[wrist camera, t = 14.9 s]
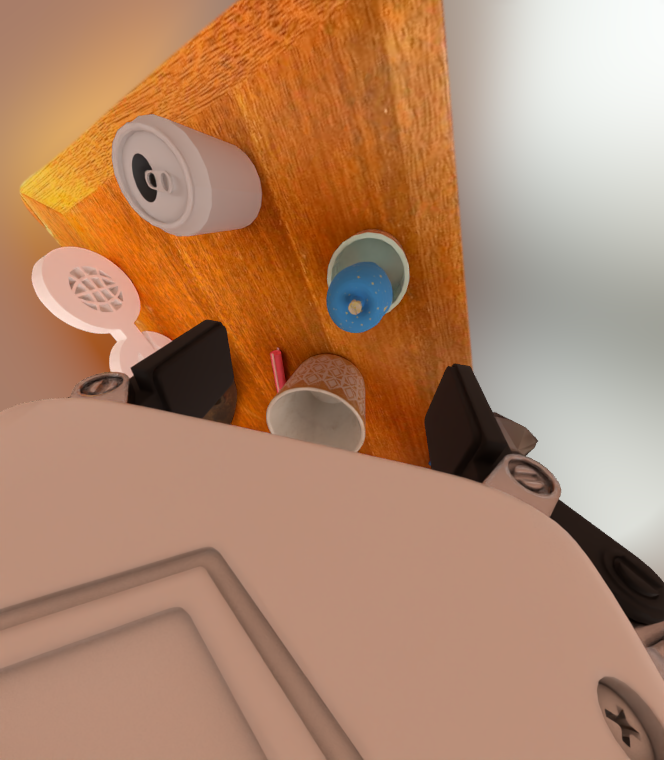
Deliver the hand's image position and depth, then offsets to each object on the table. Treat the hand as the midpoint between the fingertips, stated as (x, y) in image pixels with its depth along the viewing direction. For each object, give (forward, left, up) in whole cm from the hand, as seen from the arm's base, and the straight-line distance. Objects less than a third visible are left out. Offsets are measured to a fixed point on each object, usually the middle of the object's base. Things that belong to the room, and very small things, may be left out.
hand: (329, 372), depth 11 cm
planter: (+17, -3, -24) cm, 29 cm away
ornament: (0, 0, -23) cm, 23 cm away
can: (-6, -16, -24) cm, 29 cm away
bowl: (0, 0, -24) cm, 24 cm away
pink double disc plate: (+12, -32, -24) cm, 42 cm away
